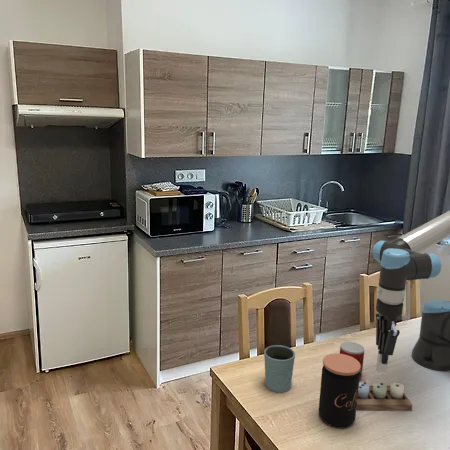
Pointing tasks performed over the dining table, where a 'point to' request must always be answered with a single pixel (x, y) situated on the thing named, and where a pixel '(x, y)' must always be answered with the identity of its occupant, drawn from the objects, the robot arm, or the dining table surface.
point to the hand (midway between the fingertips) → (381, 370)
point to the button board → (383, 402)
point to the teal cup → (278, 368)
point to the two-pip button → (379, 390)
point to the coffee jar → (339, 390)
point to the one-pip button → (396, 390)
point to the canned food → (353, 352)
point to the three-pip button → (363, 390)
